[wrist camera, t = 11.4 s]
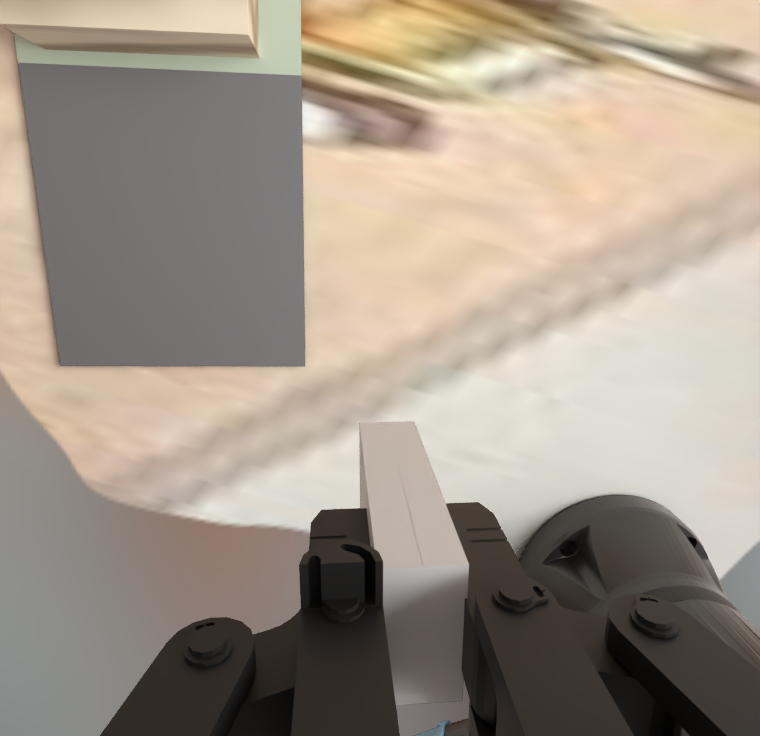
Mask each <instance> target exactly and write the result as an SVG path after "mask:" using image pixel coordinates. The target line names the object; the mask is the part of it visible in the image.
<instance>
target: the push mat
mask: <svg viewBox="0 0 760 736" xmlns="http://www.w3.org/2000/svg"><path fill="white" fill-rule="evenodd" d="M258 9H259V37H260V58H236V57H211V56H187V55H163V54H139V53H115V52H91V51H67V50H46V49H44V48H42V47H40V46H38V45H36V44H35V43H33V42H31V41H29V40H27V39H25V38H23V37H21V36H19V35H18V34H16V33H14V38H15V45H16V52H17V59H18V66H19V74H20V81H21V88H22V95H23V102H24V109H25V117H26V124H27V131H28V138H29V145H30V153H31V160H32V167H33V174H34V181H35V188H36V196H37V203H38V210H39V217H40V224H41V232H42V239H43V246H44V253H45V260H46V267H47V275H48V282H49V289H50V296H51V303H52V310H53V318H54V325H55V332H56V339H57V346H58V354H59V361H60V366H305V313H304V231H303V149H302V68H301V0H258Z"/></svg>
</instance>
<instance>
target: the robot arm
mask: <svg viewBox="0 0 760 736" xmlns="http://www.w3.org/2000/svg"><path fill="white" fill-rule="evenodd" d="M359 427H360V508H359V509H333V510H321V511H320V512H319V514H318V515H317V516H316V517H315V519H314V520H313V521H312V522H311V532H310V546H309V551H308V552H307V553H306V554H304V555H303V557H302V560H301V562H300V565H299V570H300V595H301V609H300V611H299V612H298V613H297V614H296V615H295V616H294V617H293V618H291V619H290V620H289V621H287V622H285V623H284V624H282V625H280V626H278V627H275V628H273V629H270V630H267V631H264V632H261V633H257V634H254V635H253V634H252V631H251V629H250V628H249V627H247V626H246V625H245V624H244V623H243V622H241V621H238V620H234V619H231V618H227V617H226V618H209V619H205V620H201V621H198V622H194V623H192V624H190V625H189V626H187V627H185V628H183V629H181V630H180V631H178V632H177V633H176V634H175V635H174V636H173V637H172V638H171V639H170V640H169V641H168V642H167V643H166V645H165V646H164V648H163V649H162V650H161V651H160V653H159V654H158V656H157V657H156V658H155V660H154V661H153V663H152V664H151V665H150V667H149V668H148V670H147V671H146V672H145V674H144V675H143V677H142V678H141V679H140V681H139V682H138V683H137V685H136V686H135V688H134V689H133V690H132V692H131V693H130V695H129V696H128V698H127V699H126V700H125V702H124V703H123V705H122V706H121V707H120V709H119V710H118V711H117V713H116V714H115V716H114V717H113V718H112V720H111V721H110V723H109V724H108V725H107V727H106V728H105V729H104V731H103V732H102V734H101V735H100V736H400V734H399V727H398V720H397V711H396V705H411V704H426V703H441V702H457V701H462V699H463V679H464V680H465V684H466V687H467V691H468V694H469V698H470V703H469V704H470V705H469V718H468V719H465V720H462V721H458V722H454V723H451V722H450V721H449V720H445V721H442V722H440V723H439V725H438V726H437V727H436V728H433V729H430V730H428V731H425V732H422V733H419V734H416V735H414V736H760V631H759V630H758V629H756V628H755V627H754V626H753V625H752V624H751V623H750V622H749V621H748V620H747V619H746V618H745V617H744V616H743V615H742V614H741V613H740V612H739V611H738V610H737V609H736V608H735V607H734V606H733V605H732V604H731V603H730V602H729V601H728V599H727V596H726V594H725V592H724V590H723V588H722V586H721V584H720V581H719V579H718V577H717V575H716V573H715V571H714V569H713V566H712V564H711V562H710V561H709V559H708V556H707V554H706V552H705V550H704V548H703V546H702V544H701V542H700V541H699V539H698V538H697V537H696V535H695V534H694V533H693V532H692V531H691V530H690V529H689V528H688V527H687V526H686V525H685V524H684V523H683V522H682V521H681V520H680V519H679V518H677V517H676V516H675V515H674V514H673V513H672V512H671V511H669V510H668V509H667V508H665V507H663V506H662V505H660V504H658V503H656V502H653V501H651V500H648V499H645V498H641V497H636V496H628V495H611V496H603V497H598V498H594V499H590V500H587V501H584V502H581V503H579V504H576V505H574V506H572V507H570V508H568V509H566V510H565V511H563V512H561V513H560V514H558V515H557V516H555V517H554V518H553V519H551V520H550V521H549V522H548V523H546V524H545V525H544V526H543V527H542V528H541V529H540V530H539V531H538V532H537V533H536V535H535V536H534V537H533V538H532V540H531V541H530V542H529V544H528V545H527V547H526V549H525V550H524V552H523V554H522V556H521V558H520V561H518V559H517V557H516V555H515V553H514V551H513V549H512V548H511V546H510V544H509V542H508V541H507V538H506V536H505V534H504V533H503V531H502V530H501V527H500V525H499V523H498V521H497V519H496V517H495V516H494V514H493V513H492V512H491V511H489V510H488V509H487V508H485V507H484V506H483V505H481V504H480V503H478V502H475V503H448V504H446V503H445V501H444V498H443V495H442V493H441V490H440V488H439V485H438V482H437V480H436V477H435V475H434V472H433V469H432V467H431V464H430V462H429V459H428V456H427V454H426V451H425V449H424V446H423V443H422V441H421V438H420V435H419V433H418V430H417V428H416V425H415V422H380V423H359Z"/></svg>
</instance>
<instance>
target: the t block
mask: <svg viewBox="0 0 760 736" xmlns="http://www.w3.org/2000/svg"><path fill="white" fill-rule="evenodd" d="M0 25H1V26H2V27H4V28H6V29H8V30H10V31H12V32H14V33H16V34H18V35H19V36H21V37H23V38H25V39H27V40H29V41H31V42H33V43H35V44H36V45H38V46H40V47H42V48H44V49H46V50H67V51H91V52H115V53H139V54H163V55H187V56H211V57H236V58H260V37H259V9H258V0H0Z"/></svg>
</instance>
